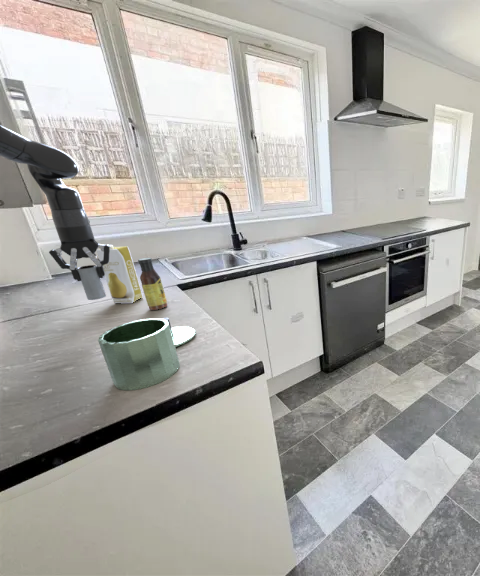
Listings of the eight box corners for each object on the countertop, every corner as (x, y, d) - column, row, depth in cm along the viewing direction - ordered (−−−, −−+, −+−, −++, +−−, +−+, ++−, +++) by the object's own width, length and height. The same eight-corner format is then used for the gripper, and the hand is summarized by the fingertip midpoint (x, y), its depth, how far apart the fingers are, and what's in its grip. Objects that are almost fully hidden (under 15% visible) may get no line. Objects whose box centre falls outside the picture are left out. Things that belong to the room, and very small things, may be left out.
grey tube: (86, 301, 97) (75, 269, 93) (89, 297, 100) (78, 266, 97) (105, 298, 99) (94, 267, 96) (107, 294, 102) (97, 264, 99)
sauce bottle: (169, 307, 122) (156, 258, 115) (150, 312, 118) (135, 261, 111) (166, 303, 126) (153, 256, 120) (147, 307, 122) (133, 259, 116)
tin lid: (138, 358, 86) (131, 335, 84) (139, 338, 98) (133, 317, 95) (198, 342, 95) (193, 321, 92) (193, 325, 106) (188, 306, 104)
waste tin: (112, 398, 71) (94, 350, 67) (117, 370, 81) (102, 327, 77) (181, 376, 78) (169, 332, 74) (177, 354, 89) (167, 314, 84)
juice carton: (110, 304, 126) (90, 246, 118) (124, 297, 133) (107, 243, 125) (133, 304, 126) (115, 246, 118) (146, 297, 133) (131, 242, 126)
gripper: (34, 228, 85) (56, 286, 91) (102, 223, 93) (119, 277, 99) (42, 225, 91) (62, 280, 96) (105, 221, 99) (120, 272, 104)
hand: (90, 278), depth 97 cm, fingers closed on grey tube, 4 cm apart
